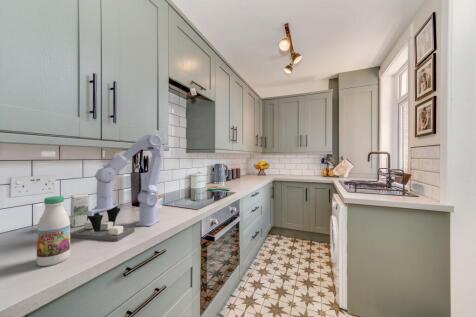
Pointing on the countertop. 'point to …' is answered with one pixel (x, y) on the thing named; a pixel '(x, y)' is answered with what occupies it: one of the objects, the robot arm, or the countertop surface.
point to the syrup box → (79, 209)
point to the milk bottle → (53, 233)
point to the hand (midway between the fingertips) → (104, 228)
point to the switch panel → (101, 234)
